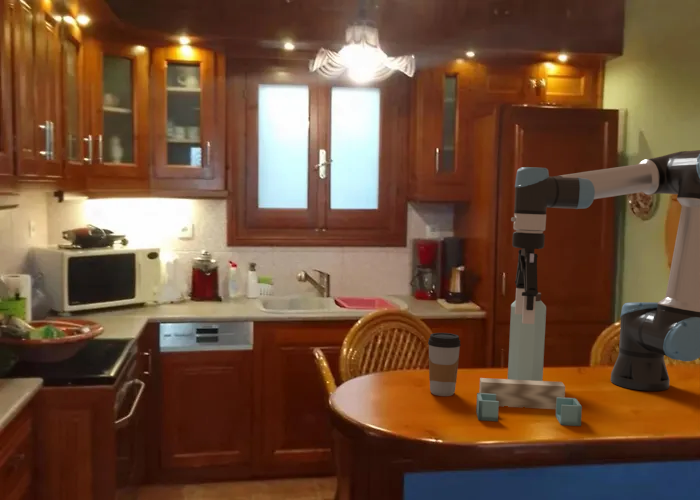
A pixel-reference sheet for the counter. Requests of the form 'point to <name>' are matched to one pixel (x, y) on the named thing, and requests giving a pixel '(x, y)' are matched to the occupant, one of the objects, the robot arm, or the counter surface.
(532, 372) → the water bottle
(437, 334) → the coffee cup
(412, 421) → the counter surface
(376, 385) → the counter surface
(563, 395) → the slat
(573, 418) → the end caps
